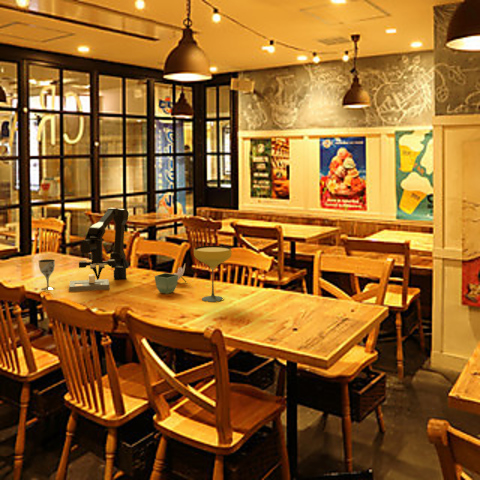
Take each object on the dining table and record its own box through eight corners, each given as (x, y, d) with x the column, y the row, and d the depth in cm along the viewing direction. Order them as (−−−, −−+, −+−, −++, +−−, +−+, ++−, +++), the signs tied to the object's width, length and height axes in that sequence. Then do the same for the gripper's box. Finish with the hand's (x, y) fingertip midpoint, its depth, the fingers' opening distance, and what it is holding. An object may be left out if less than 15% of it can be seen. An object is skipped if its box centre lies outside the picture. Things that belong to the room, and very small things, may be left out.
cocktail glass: (187, 301, 268) (187, 250, 264) (203, 293, 285) (203, 244, 281) (222, 305, 262) (222, 252, 258) (236, 296, 278) (237, 247, 275)
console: (108, 283, 306) (108, 278, 305) (109, 289, 292) (109, 284, 292) (70, 285, 301) (70, 280, 300) (69, 291, 287) (69, 286, 287)
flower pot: (167, 295, 280) (167, 277, 279) (154, 293, 285) (154, 275, 283) (178, 291, 288) (178, 274, 286) (165, 289, 292) (165, 272, 291)
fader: (94, 283, 299) (94, 274, 299) (95, 285, 295) (94, 276, 294) (89, 283, 299) (88, 274, 298) (89, 286, 294) (88, 276, 293)
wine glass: (41, 291, 288) (39, 262, 285) (38, 288, 295) (37, 260, 292) (57, 289, 291) (55, 261, 289) (54, 286, 298) (53, 258, 296)
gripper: (114, 247, 305) (115, 275, 307) (78, 248, 300) (79, 277, 302) (115, 250, 294) (116, 279, 296) (78, 252, 289) (79, 281, 292)
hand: (97, 279), depth 297 cm, fingers closed
